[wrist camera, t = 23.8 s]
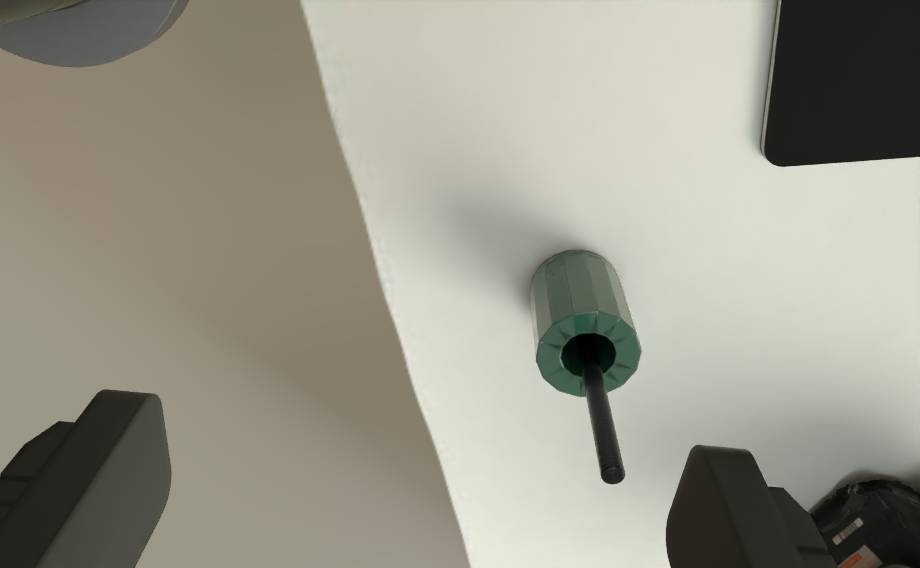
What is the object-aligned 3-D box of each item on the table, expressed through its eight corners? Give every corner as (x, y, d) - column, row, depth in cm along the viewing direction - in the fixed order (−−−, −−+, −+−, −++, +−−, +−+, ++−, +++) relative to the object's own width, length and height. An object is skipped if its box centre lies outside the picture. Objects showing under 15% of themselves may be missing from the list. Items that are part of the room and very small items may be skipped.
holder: (524, 323, 44) (530, 392, 38) (537, 245, 42) (545, 306, 36) (610, 331, 44) (628, 402, 38) (627, 253, 42) (651, 316, 36)
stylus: (566, 301, 43) (599, 483, 30) (569, 287, 42) (603, 466, 29) (582, 303, 43) (622, 486, 30) (585, 289, 42) (627, 468, 29)
